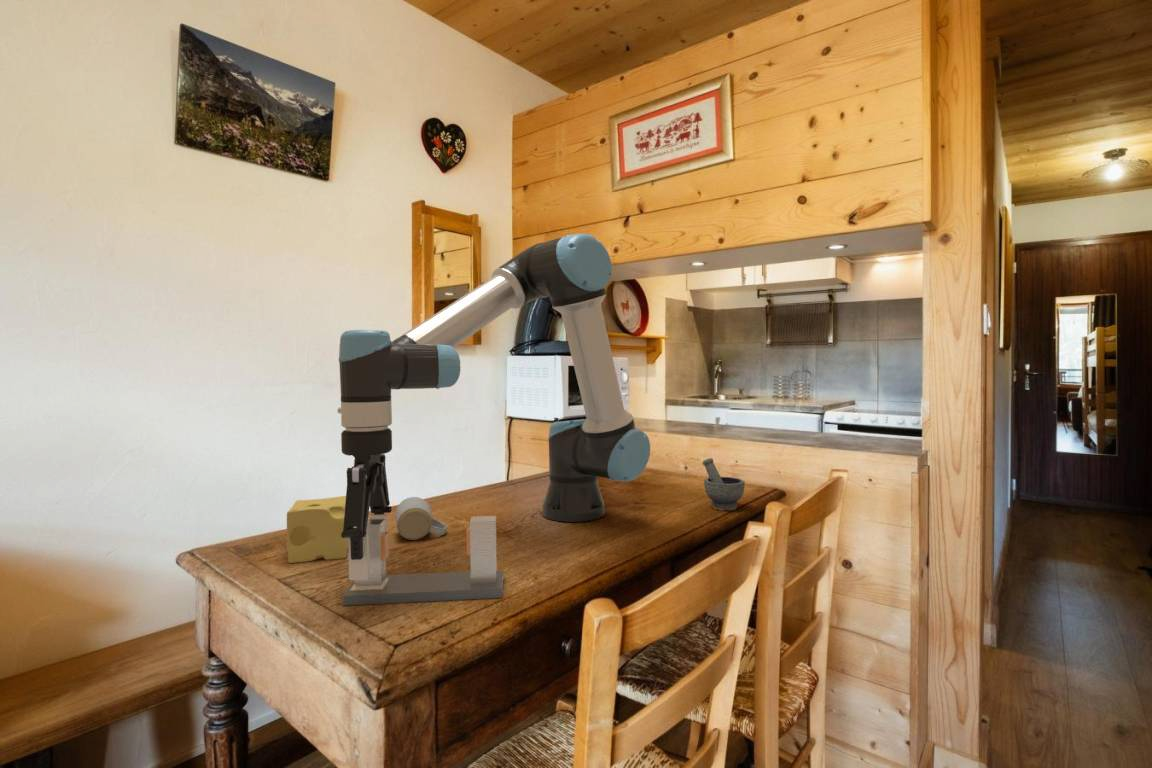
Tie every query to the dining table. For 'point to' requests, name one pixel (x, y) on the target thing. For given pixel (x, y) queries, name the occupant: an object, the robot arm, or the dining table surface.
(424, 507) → the ceramic mug
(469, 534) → the rail
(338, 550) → the cheese
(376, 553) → the loose carton
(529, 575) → the dining table surface
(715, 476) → the mortar and pestle
